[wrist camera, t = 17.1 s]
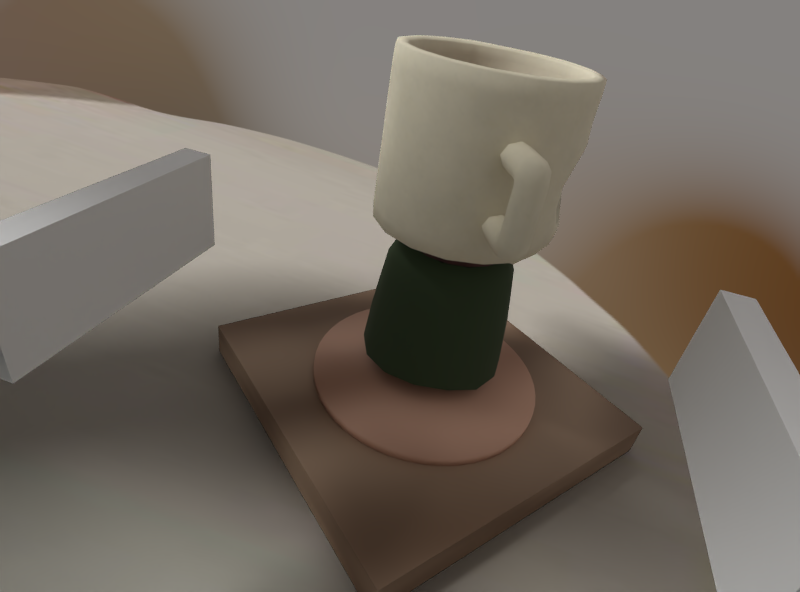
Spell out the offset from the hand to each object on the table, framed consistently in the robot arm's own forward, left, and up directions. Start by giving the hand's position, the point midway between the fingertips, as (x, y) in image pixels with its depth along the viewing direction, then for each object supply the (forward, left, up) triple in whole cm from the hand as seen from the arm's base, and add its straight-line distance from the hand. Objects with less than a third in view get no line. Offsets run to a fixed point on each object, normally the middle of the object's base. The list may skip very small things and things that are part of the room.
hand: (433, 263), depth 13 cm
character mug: (-5, +6, -9) cm, 11 cm away
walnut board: (-4, +5, -11) cm, 12 cm away
